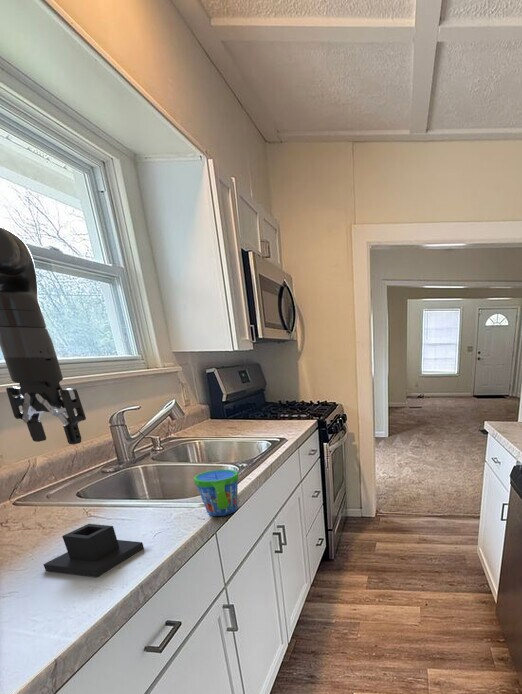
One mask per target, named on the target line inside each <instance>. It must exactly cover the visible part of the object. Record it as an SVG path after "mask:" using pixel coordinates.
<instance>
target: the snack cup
mask: <svg viewBox="0 0 522 694" xmlns="http://www.w3.org/2000/svg"><path fill="white" fill-rule="evenodd" d="M239 477H240V475H239V472H238V471H236V470H234V469H214V470H213V469H212V470H207V471H204V472H200V473H198V474H196V475H195V476H193V482H194V484H195V486H196V487H197V490H198V493H199V495H200V498H201V500H202V503H203V506H204V508H205V511H206V513H207V514H208V515H209V516H211V517H212V516H213V517H224V516H228V515H231V514H232V513H233V514H234V513H235V512H237V511H238V503H239V502H238V496H239V495H238V492H239V491H238V489H239V488H238V485H239V484H238V481H239Z"/></svg>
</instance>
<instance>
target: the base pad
mask: <svg viewBox="0 0 522 694" xmlns="http://www.w3.org/2000/svg"><path fill="white" fill-rule="evenodd" d="M117 541H118V544H119V548H117V549H116V550H114V551H112V552H110V553H109V554H107V555H105V556H103V557H102V558H100V559H98V560H96V561H88V560H80V559H71V558H70V557H69V554H68V551H66V552H65V553H63V554H61V555H59V556H57V557H55V558H53V559H50V560H49V561H47V562H45V563H43V564H42V565H43V568H44V571H46V572H52V573H59V574H67V575H68V574H69V575H77V576H84V577H92V578H98V577H100V576H101V575H103V574H105V573H106V572H108V571H110V570H112V569H113V568H114V567H116V566H118V565H120V564H122V562H124V561H126V560H128V559H129V558H131V557H132V556H135V554H138V553H139V552H140V551H142V550H143V549H145V547H144V543H143V542H141V541H133V540H123V539H117Z"/></svg>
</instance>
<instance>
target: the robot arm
mask: <svg viewBox="0 0 522 694" xmlns="http://www.w3.org/2000/svg"><path fill="white" fill-rule="evenodd" d="M42 310H43V309H42V307H41V305H40V301H39V287H38V279H37V272H36V265H35V261H34V259H33V256H32V253H31V251H30V249H29V248H28V246H27V244H26V243H25V242H24V240H22V239H21V238H20V237H19V236H18V235H17V234H16V233H14V232H12V231H11V230H8V229H6V228H5V227H3V226H0V350H1V353H2V356H3V359H4V362H5V365H6V367H7V370H8V373H9V377H10V379H11V381H12V382H13V383H15V384H16V383H17V384H19V385H18V386H7V387H6V389H5V390H6V393H7V397H8V401H9V404H10V407H11V411H12V414H13V417H14V418H15V419H16V420H22V422H23V423H25V424H26V426H27V429H28V432H29V435H30V438H31V439H32V441H33V442H37V443H39V442H43V441H46V440H47V435H46V432H45V429H44V426H43V423H42V421H40V420H41V417H42V414H43V413H44V412H45V413H50V414H51V415H52V416H53V417H56V418H57V419H58V420H59V421H60V422H61V423H62V424H63V425H62V427H63V431H64V433H65V437H66V441H67V443H68V444H69V445H77V444H80V443H82V436H81V431H80V428H79V423H80V422H83V421H86V419H87V416H86V413H85V411H84V407H83V404H82V402H81V399H80V395H79V392H78V390H77V388H74V387H73V388H64V389H63V388H62V386H61V384H60V383H61V382H62V381H63V379H64V376H63V373H62V369H61V367H60V363H59V360H58V356H57V353H56V349H55V345H54V342H53V340H52V337H51V335H50V332H49V330H48V328H47V323H46V321H45V317H44V314H43V311H42ZM20 406H21V410H22V411H21V410H20ZM74 409H75V410H74ZM75 412H76V413H75Z"/></svg>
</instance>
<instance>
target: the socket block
mask: <svg viewBox="0 0 522 694" xmlns="http://www.w3.org/2000/svg"><path fill="white" fill-rule="evenodd" d="M61 537H62V540H63V542H64V546H65V548H66V552H68V554H69V557H70V558H71V559H80V560H88V561H96V560H98V559H100V558H102V557H103V556H105V555H107V554H109V553H110V552H112V551H114V550H116V549H117V548H119V544H118V541H117V540H118V539H117V535H116V530H115V527H114V526H113V525H107V524H95V523H87V524H85V525H83V526H81V527H79V528H76V529H74V530H72V531H70V532H68V533H65V534H63V535H62V536H61Z"/></svg>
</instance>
